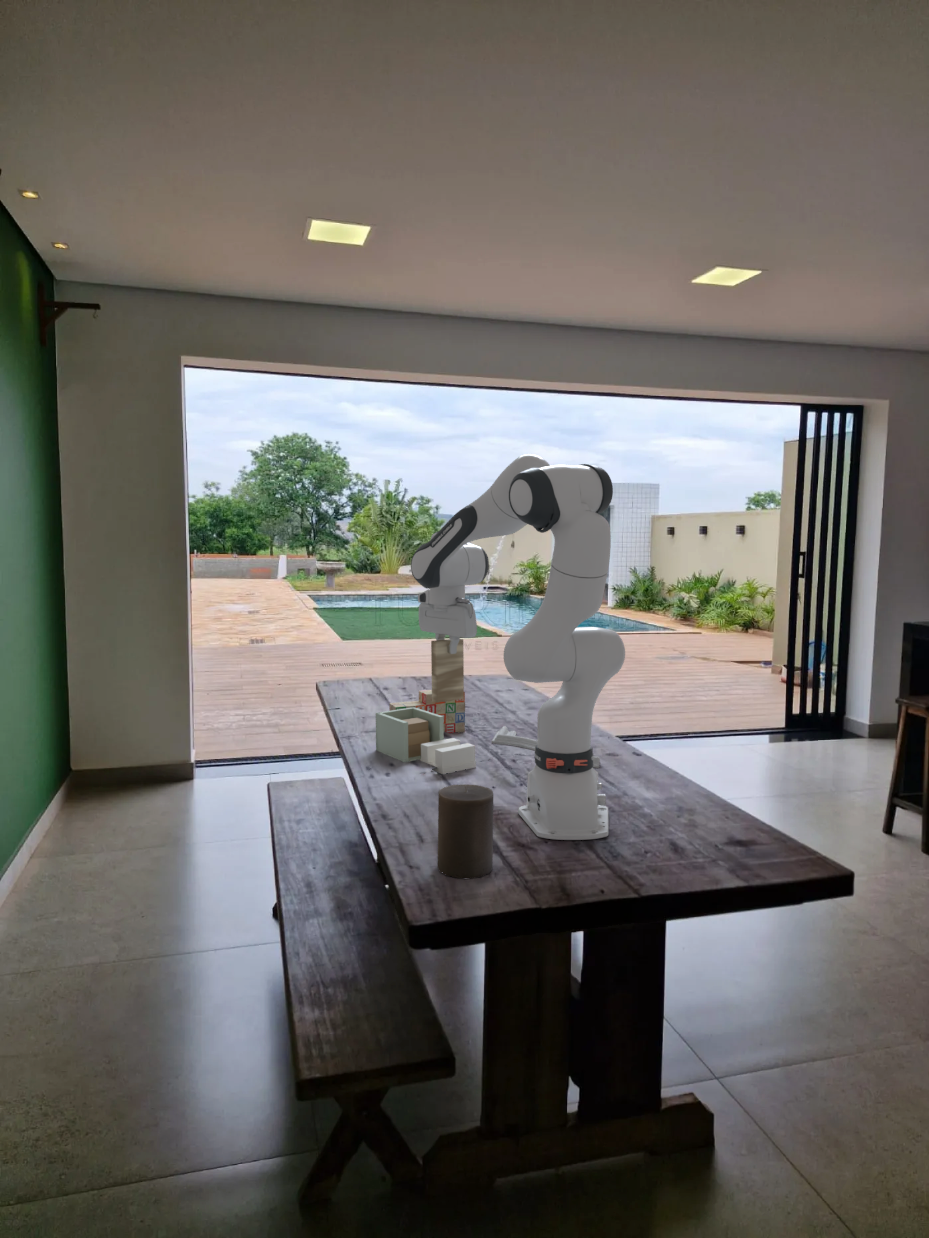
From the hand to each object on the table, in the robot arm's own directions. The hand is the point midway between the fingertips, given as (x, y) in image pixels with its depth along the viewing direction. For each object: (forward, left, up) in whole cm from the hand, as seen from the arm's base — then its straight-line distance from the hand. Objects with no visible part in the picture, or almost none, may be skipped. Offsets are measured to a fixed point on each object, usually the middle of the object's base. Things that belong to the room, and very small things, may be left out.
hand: (447, 652), depth 203 cm
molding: (+15, -26, -30) cm, 42 cm away
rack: (+9, +10, -29) cm, 32 cm away
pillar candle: (-62, -3, -29) cm, 68 cm away
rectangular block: (0, 0, -12) cm, 12 cm away
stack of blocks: (+35, +6, -29) cm, 46 cm away
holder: (0, 0, -29) cm, 29 cm away
